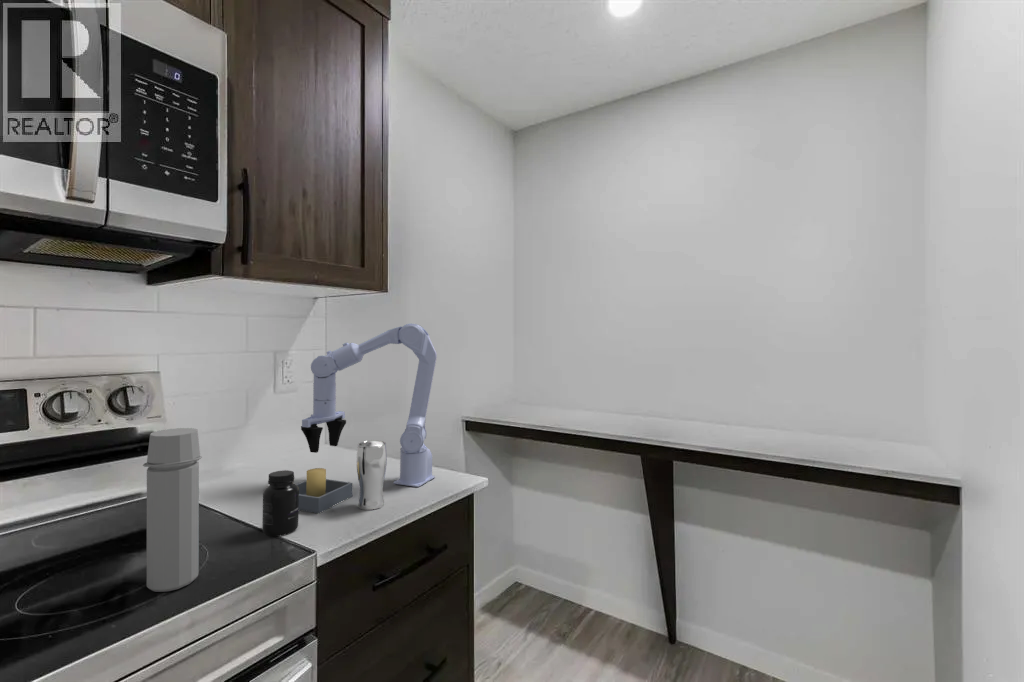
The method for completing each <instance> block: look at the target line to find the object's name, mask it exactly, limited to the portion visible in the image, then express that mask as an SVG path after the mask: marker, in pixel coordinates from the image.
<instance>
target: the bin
mask: <svg viewBox="0 0 1024 682" xmlns="http://www.w3.org/2000/svg"><path fill="white" fill-rule="evenodd" d="M295 484H296V485H297V486H298V488H299V511H301V510H303V512H308V513H312V512H314V514H318V513H319V514H321V513H323V512H325V511H326V509H327V510H329V509H330V507H331V508H333V507H334V506H333V505H335V504H337V503H339V502H341V501H343V500H345V501H347V500H348V499H347V498H349V499H351V498H352V497H353V482H349V481H340V480H336V479H328V478H326V494H324V495H322V496H320V497H314V496H308V495H306V480H303V481H302V482H299V483H295ZM350 497H351V498H350ZM346 499H347V500H346ZM343 502H344V501H343ZM341 503H342V502H341ZM339 504H340V503H339ZM337 505H338V504H337ZM332 506H333V507H332ZM335 506H336V505H335ZM328 508H329V509H328ZM324 510H325V511H324ZM322 511H323V512H322ZM320 512H321V513H320Z"/></svg>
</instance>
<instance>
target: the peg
mask: <svg viewBox="0 0 1024 682" xmlns="http://www.w3.org/2000/svg"><path fill="white" fill-rule="evenodd" d="M326 479H327V469H326V468H322V467H319V468H318V467H317V468H310V469H307V470H306V480H305V481H306V495H308V496H314V497H320V496H322V495H324V494H326Z"/></svg>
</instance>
